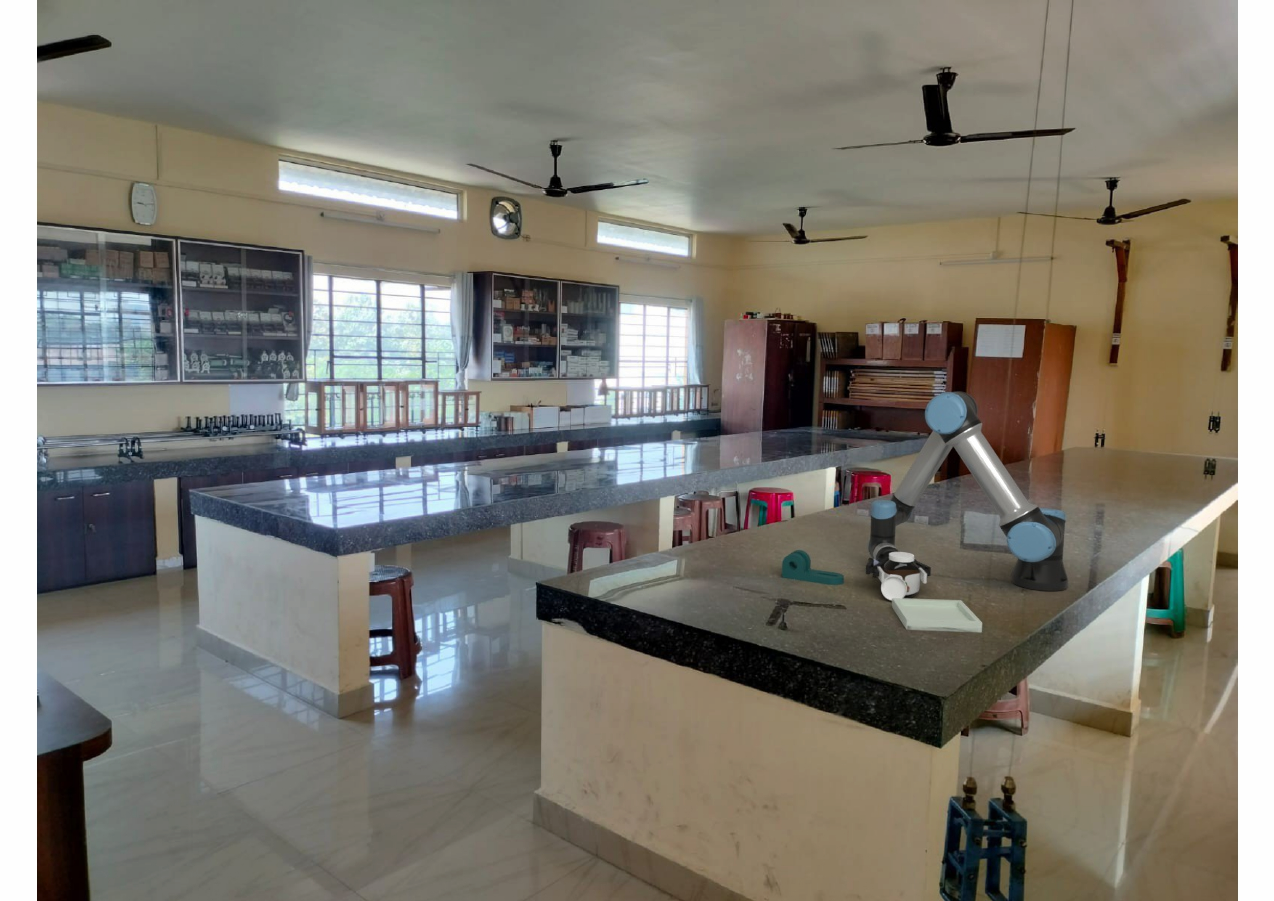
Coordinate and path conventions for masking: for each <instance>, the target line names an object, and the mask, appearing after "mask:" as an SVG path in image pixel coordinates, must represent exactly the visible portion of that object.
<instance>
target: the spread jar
mask: <svg viewBox="0 0 1274 901" xmlns="http://www.w3.org/2000/svg"><path fill="white" fill-rule="evenodd" d="M914 559H915V555H914V554H913V553H910V552H906V551H905V552H904V551H899V552H891V553H889V560H888V561H887V562H886V563H885V564H884V565H883V568H882V570H883V571H884V582H881V585H880V590H881V593H882V595H883V597H884V598H885V599H887V600H889V601H892V598H905V599H911V598H912V597H914V596H916V595H917V594H918V593H919V590H920V587H921V580H920V570H919V568H918V566H917V565H916V564H915V563H914Z"/></svg>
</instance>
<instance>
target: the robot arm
mask: <svg viewBox="0 0 1274 901" xmlns="http://www.w3.org/2000/svg"><path fill="white" fill-rule="evenodd" d="M924 410H925V411H924V418H925V422H926V424H927V426H928V427H929V428H930V430H932V432H931V433H930V434H929V437H928V438H927V440H926V441H925V443H924V444H923V446H922V447H921V450H920V451H919V453H918V454H917V456H916V457H915V459H914V461H913V463H912V464H911V465H910V467H909V469H908V471H907V472H906V474H905V476H904V477H903V479H902V480H901V482H900V484H899V485H898V486H897V489H896V490H895V491H894V492H893V495H892V497H891V498H890V500H887V499H878V500H877V499H876V500H873V501H872V502H871V506H870V507H871V508H870V535H869V541H868V543H867V551H868V553H869V555H870V556H871V557H868V562H867V563H866V565H865V574H866V575H871V574H872V578H878V580H879V581H880V582H881V583H882V582H884V571H883V570H882V568H883V565H884V564H885V563H886V562H887V561H888V560H889V553H891V552H900V551H899V549H897V547H896V529H897V528H896V527H898V526H899V525H902V524H904V523H905V522H906V523H907V521H909V519H910V518H911V517H912V514H913V510H914V508H915V506H916V505H917V503H918V502H919V500H920V499H921V497H922V495H923V494H924V492H925V490H926V489H927V487H929V484H930V483H931V481H932V479H933V478H934V476H935V475H936V474H937V473H938V471H939V469H940V467H941V466H942V464H943V462H944V461H945V460H946V459H947V457H948V455H949V453H950V452H951V450H952V449H953V448H954V449H955V451H956V452H957V454H958V455H959V457H960V459H961V460H962V462H963V464H965V466H966V467H967V469H968V470H969V472H970V474H971V475H972V477H973V479H975V481H976V483H977V484H978V487H980V489H981V491H982V492H983V493H984V495H985V496H986V498H987V499H988V501H989V503H990V504H991V506H992V507H993V508H994V510H995V511H996V513H997V515H998V517H999V518H1000V519H999V523H998V526H999V527H1000V529H1001V532H1003V534H1004V536H1005V538H1006V545H1007V547H1008V550H1009V551H1010V552H1011V554H1012V555H1013V556H1014V557H1016V558H1017V561H1016V563H1015V565H1014V567H1013V570H1012V572H1011V577H1010V578H1011V579H1010V581H1011V582H1012V584H1014V585H1015V586H1019V587H1021V588H1025V589H1030V590H1036V591H1044V592H1057V591H1058V592H1061V591H1064V590H1067V589H1068V587H1069V579H1068V576H1067V572H1066V568H1065V565H1064V562H1063V561H1064V560H1063V558H1064V547H1065V545H1064V543H1065V531H1066V530H1065V527H1066V522H1067V519H1066V513H1065V512H1064V511H1063V510H1062V509H1054V508H1045V507H1039V506H1038V504H1035V503H1031V502H1029V501H1028V500H1027V498H1026V497H1025V495H1024V493H1023V492H1022V490H1021V489H1020V487H1019V486H1018V484H1016V481H1015V480H1014V479H1013V477H1012V475H1011V474H1010V472H1008V470H1007V468H1006V467H1005V465H1004V464H1003V462H1002V461H1001V458H1000V457H999V455H997V454H996V452H995V450H994V449H993V447H992V446H991V444H990V443H989V441H988V440H987V438H986V436H985V435H984V434H983V433H982V427H983V423H982V421H981V420H980V418H979V417H978V412H979V408H978V404H977V402H976V400H975V398H973V396H971V395H970V394H969V393H967V392H964V391H958V390H957V391H951V392H950V391H949V392H947V391H945V392H942V393H940V394H937V395H935V396H934V397H933V398H932V399H930V400H929V402H928V403H927V405H926V407H925V409H924ZM914 563H915V564H916V565H917V566H918V568H919V570H920V582H922V584H927V580H928V577H931V575H932V574H931V572H932V568H931V566H929V565H927V564H924V563H923V562H920V561H918V560H917V559H915V558H914Z"/></svg>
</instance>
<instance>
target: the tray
mask: <svg viewBox="0 0 1274 901" xmlns="http://www.w3.org/2000/svg"><path fill="white" fill-rule="evenodd" d="M891 608H892V610H893V611H894V612H895V614H896V616H897V617H898V619H899V620H900V622H901V623H902V625H903V626H904V628H905V630H907V631H930V632H932V631H933V632H934V631H935V632H957V633H958V632H960V633H983V632H982V631H983V622H982V621H981V620H980V618H978V616H976V614H975V613H974V612H973V611H972V610H971V609H970V608H969V607H968V606H967V605H966V604H965V603H964V601H963V600H961V599H959V600H958V599H930V598H929V599H928V598H892V600H891Z"/></svg>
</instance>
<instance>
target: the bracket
mask: <svg viewBox="0 0 1274 901" xmlns="http://www.w3.org/2000/svg"><path fill="white" fill-rule="evenodd" d="M811 563H812V562H811V558H810V555H809V554H808V553H807V552H806V551H805V550H802V549H797V550H794V551H792V552H791V553H790V554H788V555H786V556H785V557H784V558H783V560H782V563H781V578H782V579H787V580H794V579H795V580H796V581H801V582H808V583H814V584H822V585H829V586H840V585H843V584H844V580H845V577H844V576H845V575H844V574H843V573H839V572H832V571H827V570H821V569H819V570H818V569H813V568H811Z"/></svg>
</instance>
